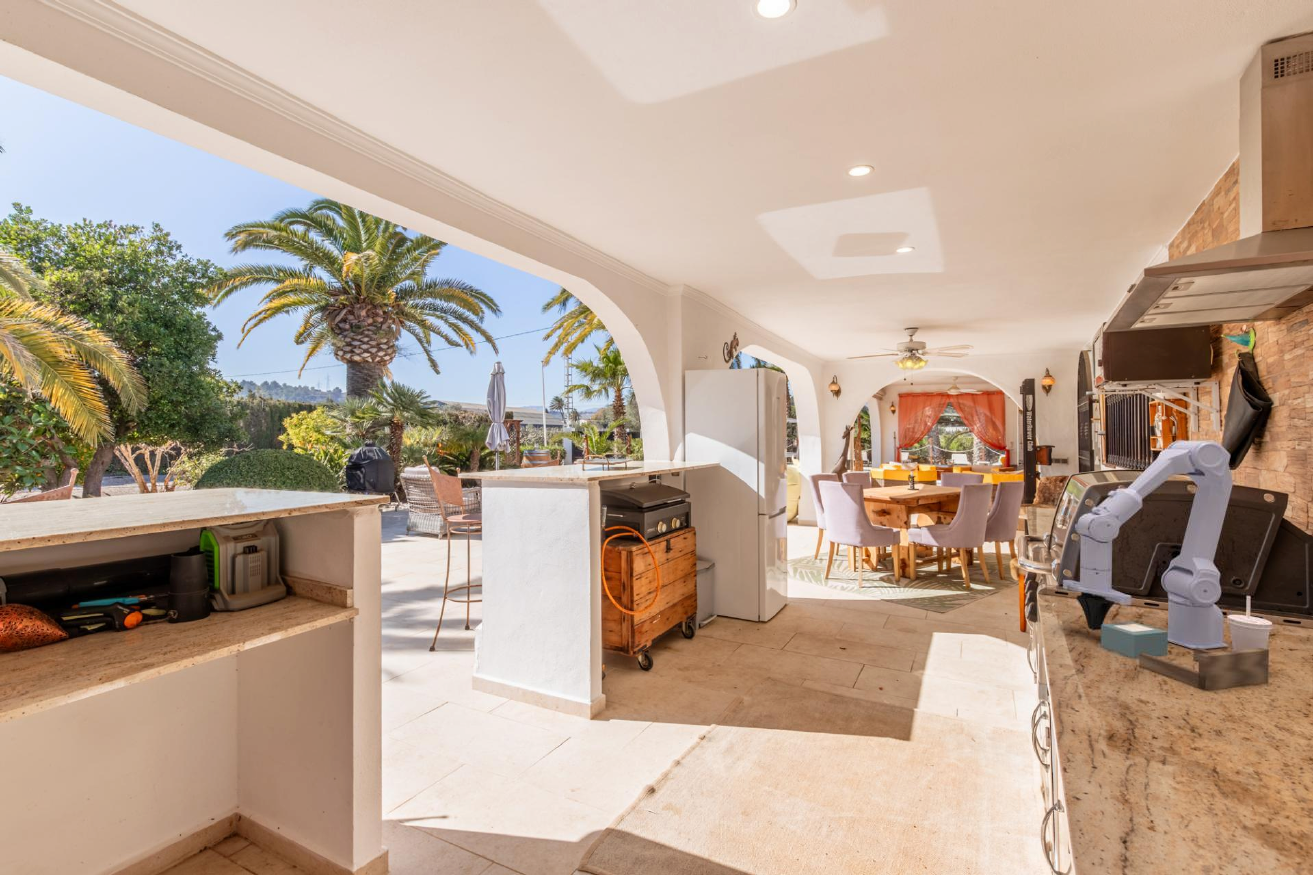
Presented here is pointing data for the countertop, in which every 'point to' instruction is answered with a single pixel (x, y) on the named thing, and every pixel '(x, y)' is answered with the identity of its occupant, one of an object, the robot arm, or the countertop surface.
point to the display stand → (1215, 668)
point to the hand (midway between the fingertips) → (1094, 629)
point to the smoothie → (1248, 630)
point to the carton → (1134, 639)
